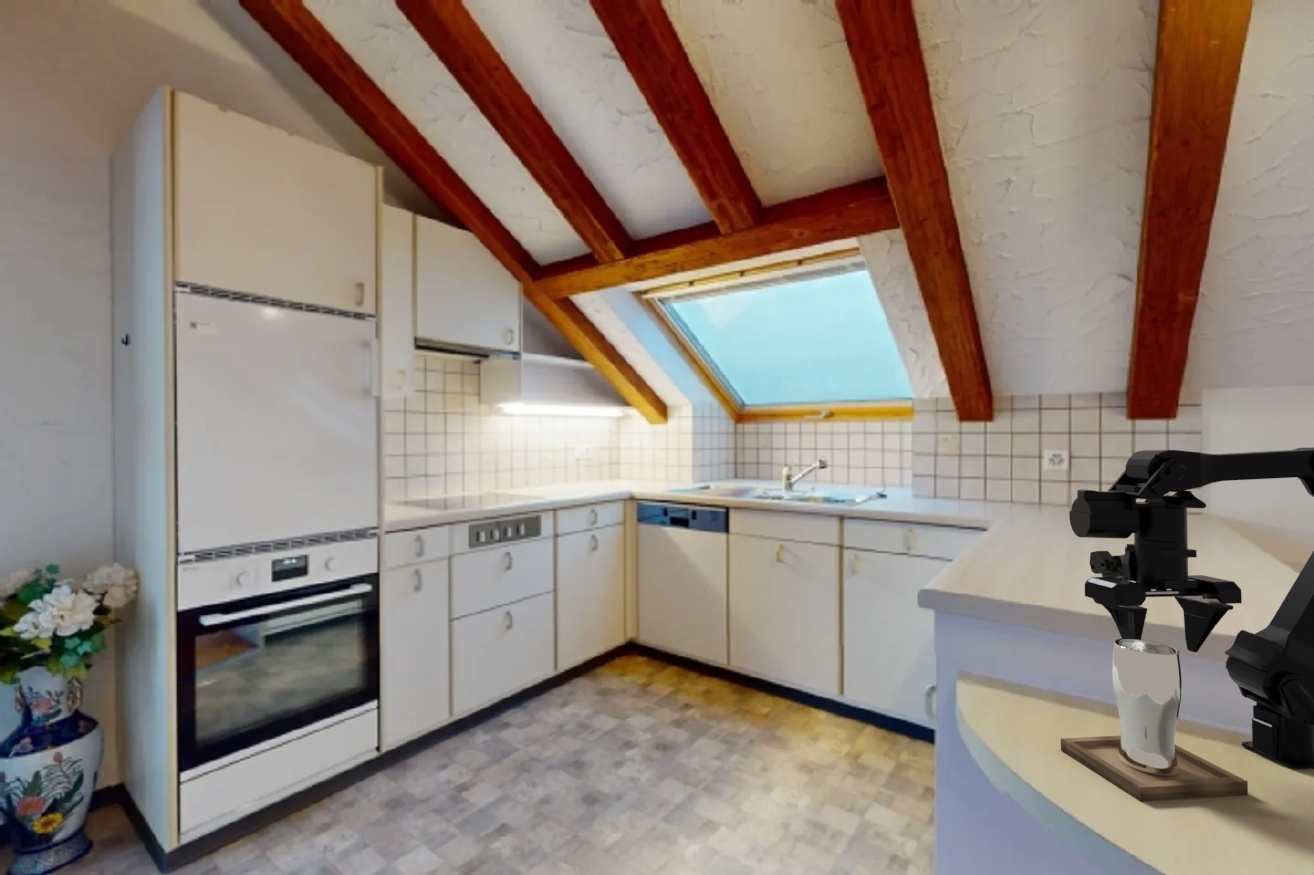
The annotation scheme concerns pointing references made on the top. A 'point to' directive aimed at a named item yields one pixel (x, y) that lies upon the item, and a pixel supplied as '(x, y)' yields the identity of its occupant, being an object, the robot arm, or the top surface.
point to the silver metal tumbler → (1147, 704)
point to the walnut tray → (1189, 783)
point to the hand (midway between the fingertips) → (1162, 652)
